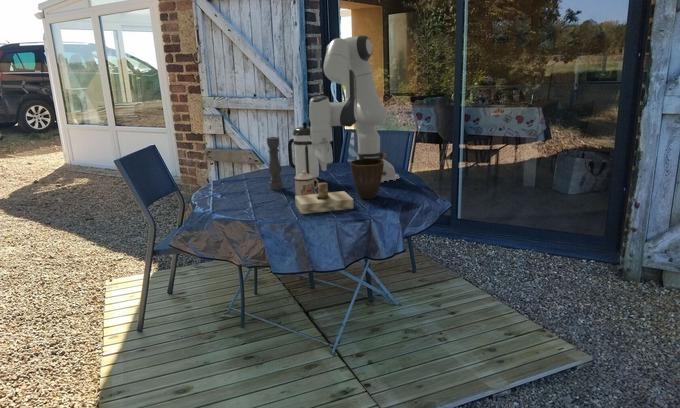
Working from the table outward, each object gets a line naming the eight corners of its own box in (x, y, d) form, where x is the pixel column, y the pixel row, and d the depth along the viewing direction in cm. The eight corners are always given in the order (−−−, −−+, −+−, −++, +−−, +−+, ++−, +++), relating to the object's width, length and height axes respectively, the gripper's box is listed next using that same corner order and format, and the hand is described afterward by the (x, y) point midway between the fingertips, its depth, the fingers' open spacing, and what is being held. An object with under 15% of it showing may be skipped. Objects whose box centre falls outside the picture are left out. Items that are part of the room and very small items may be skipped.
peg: (327, 204, 209) (326, 182, 206) (329, 207, 205) (328, 184, 203) (318, 205, 208) (317, 183, 205) (320, 208, 204) (319, 185, 202)
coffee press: (322, 175, 263) (319, 119, 255) (321, 182, 248) (319, 123, 240) (289, 176, 263) (286, 120, 255) (287, 183, 248) (283, 124, 239)
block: (344, 199, 216) (344, 191, 215) (353, 208, 203) (353, 199, 202) (295, 204, 211) (294, 195, 210) (301, 214, 198) (300, 204, 196)
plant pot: (362, 203, 210) (361, 166, 205) (345, 195, 222) (343, 161, 218) (390, 197, 216) (390, 162, 212) (372, 190, 229) (372, 157, 224)
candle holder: (280, 190, 236) (276, 138, 229) (268, 189, 237) (264, 138, 230) (284, 186, 242) (280, 136, 235) (272, 186, 243) (268, 136, 236)
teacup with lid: (301, 200, 218) (300, 174, 214) (291, 196, 225) (290, 171, 222) (324, 195, 224) (323, 170, 221) (313, 191, 232) (312, 167, 228)
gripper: (335, 139, 189) (337, 174, 193) (323, 132, 208) (325, 164, 212) (319, 141, 188) (322, 176, 192) (308, 134, 207) (311, 166, 211)
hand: (323, 170), depth 202 cm, fingers closed
